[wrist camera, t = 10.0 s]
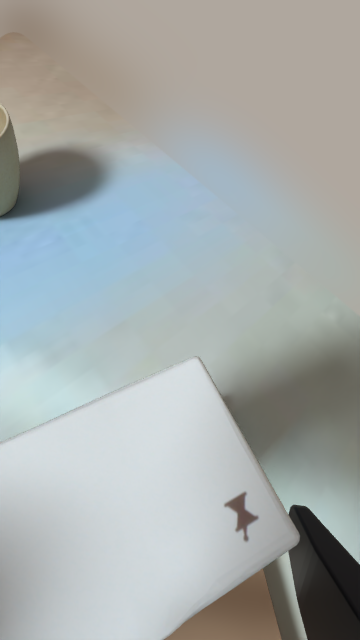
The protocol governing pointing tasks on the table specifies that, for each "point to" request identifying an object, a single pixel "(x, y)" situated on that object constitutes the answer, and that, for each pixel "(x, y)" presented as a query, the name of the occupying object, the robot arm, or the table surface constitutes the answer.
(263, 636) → the walnut board
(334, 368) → the table surface
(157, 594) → the skincare box
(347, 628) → the robot arm
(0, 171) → the flower pot
